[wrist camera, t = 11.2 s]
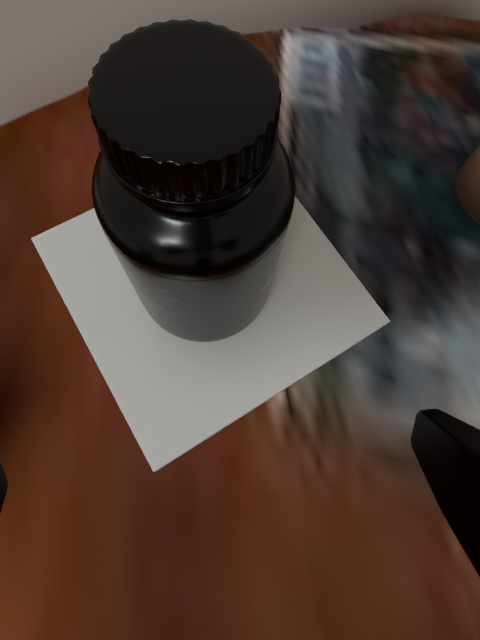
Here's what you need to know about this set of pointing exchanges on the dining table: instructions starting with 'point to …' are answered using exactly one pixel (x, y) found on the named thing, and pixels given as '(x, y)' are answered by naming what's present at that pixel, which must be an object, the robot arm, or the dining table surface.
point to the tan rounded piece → (469, 186)
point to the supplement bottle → (192, 173)
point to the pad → (206, 357)
